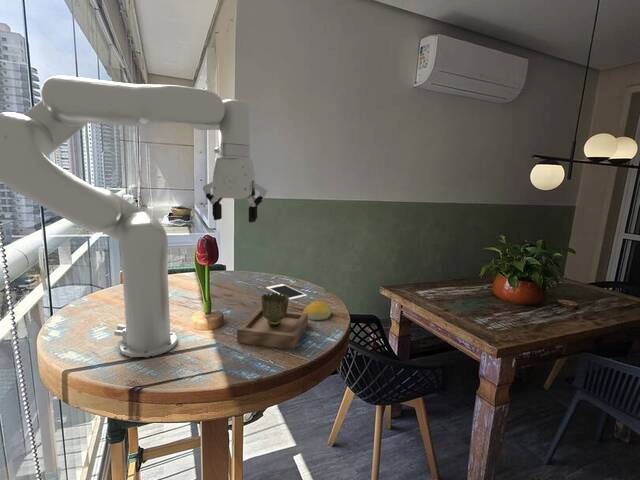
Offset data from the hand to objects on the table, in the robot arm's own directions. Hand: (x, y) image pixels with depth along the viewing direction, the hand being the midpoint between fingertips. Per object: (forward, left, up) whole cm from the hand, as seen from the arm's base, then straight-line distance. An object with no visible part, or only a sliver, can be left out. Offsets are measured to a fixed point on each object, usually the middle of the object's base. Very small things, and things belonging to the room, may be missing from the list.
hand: (234, 220), depth 89 cm
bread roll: (+20, +17, -31) cm, 40 cm away
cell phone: (+4, +35, -31) cm, 47 cm away
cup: (+11, +1, -28) cm, 30 cm away
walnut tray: (+11, +1, -31) cm, 33 cm away
